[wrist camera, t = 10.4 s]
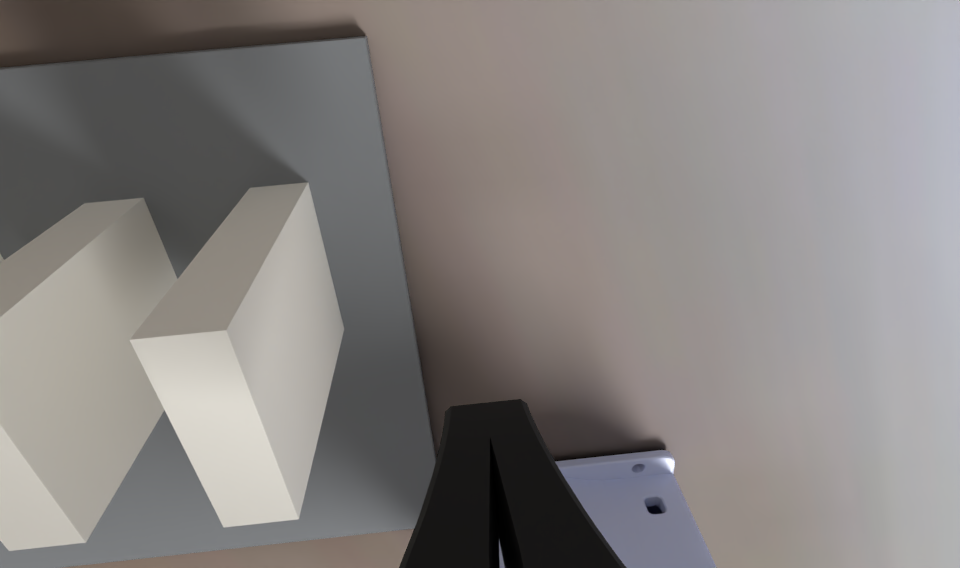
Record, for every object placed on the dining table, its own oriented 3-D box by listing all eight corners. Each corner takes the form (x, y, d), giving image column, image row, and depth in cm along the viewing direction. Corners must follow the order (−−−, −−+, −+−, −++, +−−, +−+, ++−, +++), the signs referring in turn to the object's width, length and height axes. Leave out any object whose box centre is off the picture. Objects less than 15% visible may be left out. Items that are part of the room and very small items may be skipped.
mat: (366, 35, 14) (364, 37, 13) (445, 516, 24) (445, 524, 23) (-724, 130, 13) (-755, 135, 13) (-176, 585, 23) (-185, 594, 23)
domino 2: (308, 182, 15) (226, 330, 9) (344, 328, 18) (298, 518, 12) (249, 187, 15) (129, 339, 9) (294, 334, 18) (223, 527, 12)
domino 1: (143, 197, 15) (-49, 357, 9) (204, 343, 18) (86, 542, 12) (84, 203, 15) (-148, 367, 9) (153, 348, 18) (8, 551, 12)
